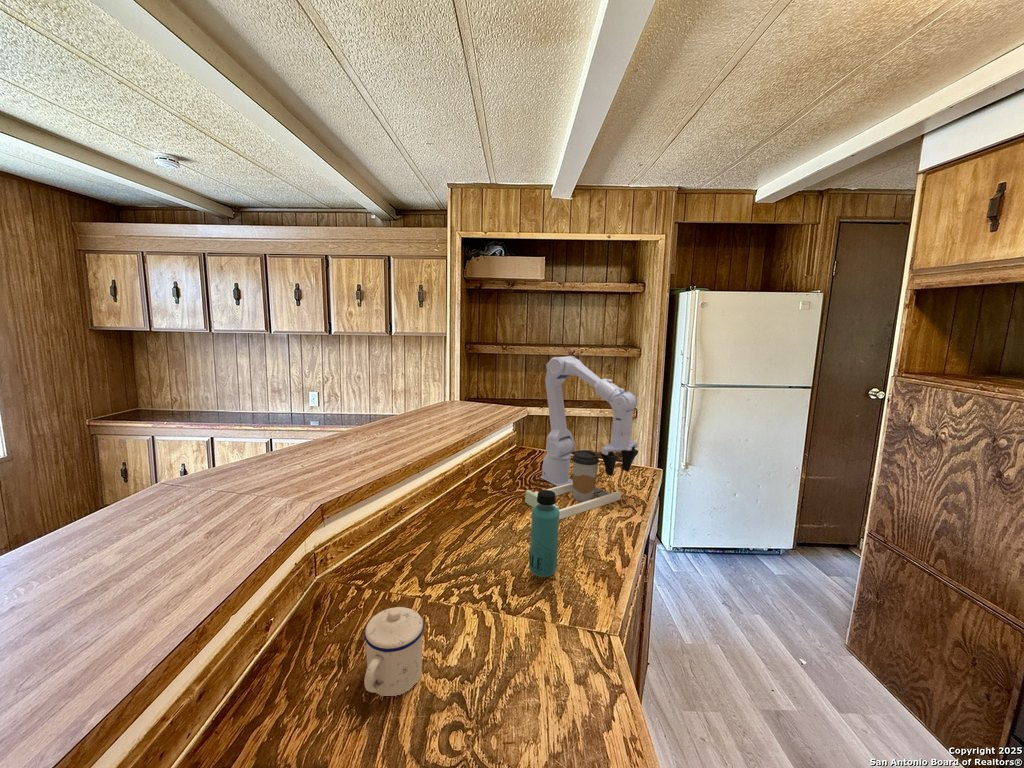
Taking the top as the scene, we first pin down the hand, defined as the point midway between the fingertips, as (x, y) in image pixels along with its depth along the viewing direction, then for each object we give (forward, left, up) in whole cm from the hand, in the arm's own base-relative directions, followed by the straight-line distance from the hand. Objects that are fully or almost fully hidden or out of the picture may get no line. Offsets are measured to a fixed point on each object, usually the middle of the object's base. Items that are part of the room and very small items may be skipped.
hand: (617, 472), depth 139 cm
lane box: (-7, -11, -10) cm, 17 cm away
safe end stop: (-7, -25, -10) cm, 28 cm away
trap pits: (-7, 0, -10) cm, 12 cm away
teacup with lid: (+27, -84, -10) cm, 89 cm away
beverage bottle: (+18, -45, -10) cm, 50 cm away
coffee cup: (-7, -7, -10) cm, 14 cm away
